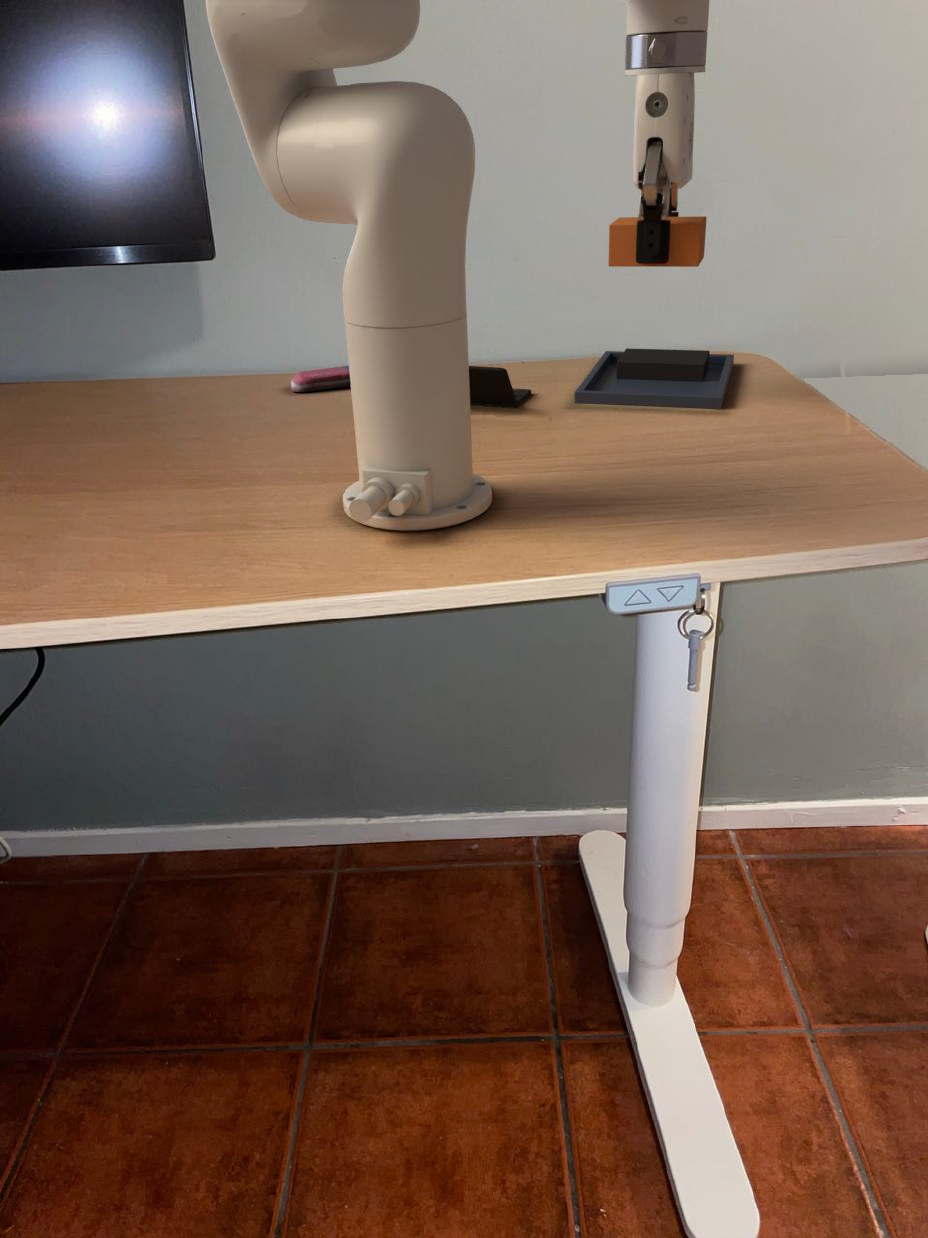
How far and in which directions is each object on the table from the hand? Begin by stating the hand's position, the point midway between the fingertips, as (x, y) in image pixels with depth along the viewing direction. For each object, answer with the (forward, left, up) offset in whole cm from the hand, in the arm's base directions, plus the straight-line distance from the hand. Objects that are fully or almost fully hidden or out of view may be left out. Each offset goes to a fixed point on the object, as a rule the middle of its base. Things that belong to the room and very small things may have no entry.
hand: (656, 255), depth 103 cm
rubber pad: (+11, 0, -15) cm, 19 cm away
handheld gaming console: (-4, +19, -15) cm, 25 cm away
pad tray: (+7, 0, -15) cm, 17 cm away
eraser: (+2, +38, -15) cm, 41 cm away
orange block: (0, 0, -1) cm, 1 cm away
